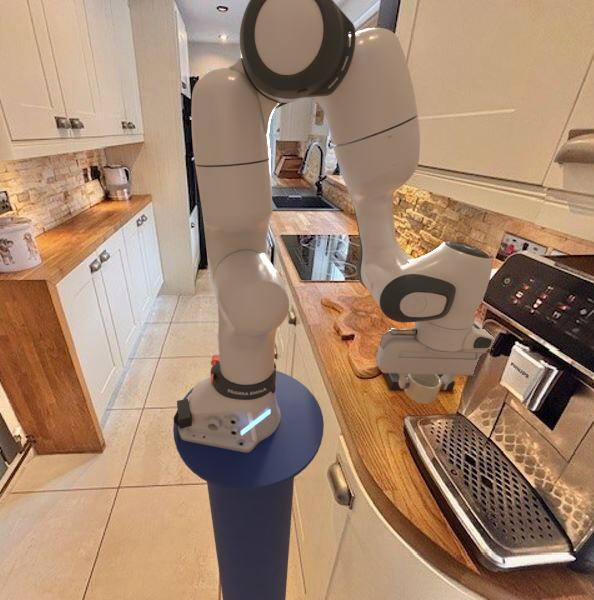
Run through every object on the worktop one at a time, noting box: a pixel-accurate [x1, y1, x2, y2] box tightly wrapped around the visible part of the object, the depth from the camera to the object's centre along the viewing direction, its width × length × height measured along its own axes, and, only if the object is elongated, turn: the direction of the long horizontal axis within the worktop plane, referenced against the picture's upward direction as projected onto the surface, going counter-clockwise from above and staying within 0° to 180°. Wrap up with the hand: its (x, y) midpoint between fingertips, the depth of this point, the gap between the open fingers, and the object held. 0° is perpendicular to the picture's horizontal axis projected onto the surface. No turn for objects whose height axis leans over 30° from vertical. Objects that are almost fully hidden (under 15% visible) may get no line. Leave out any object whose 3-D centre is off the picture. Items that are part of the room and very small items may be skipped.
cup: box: [403, 374, 442, 405], centre depth 66 cm, size 6×6×4 cm
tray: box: [375, 349, 456, 392], centre depth 80 cm, size 14×12×3 cm
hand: (421, 387), depth 66 cm, fingers closed on cup, 6 cm apart
